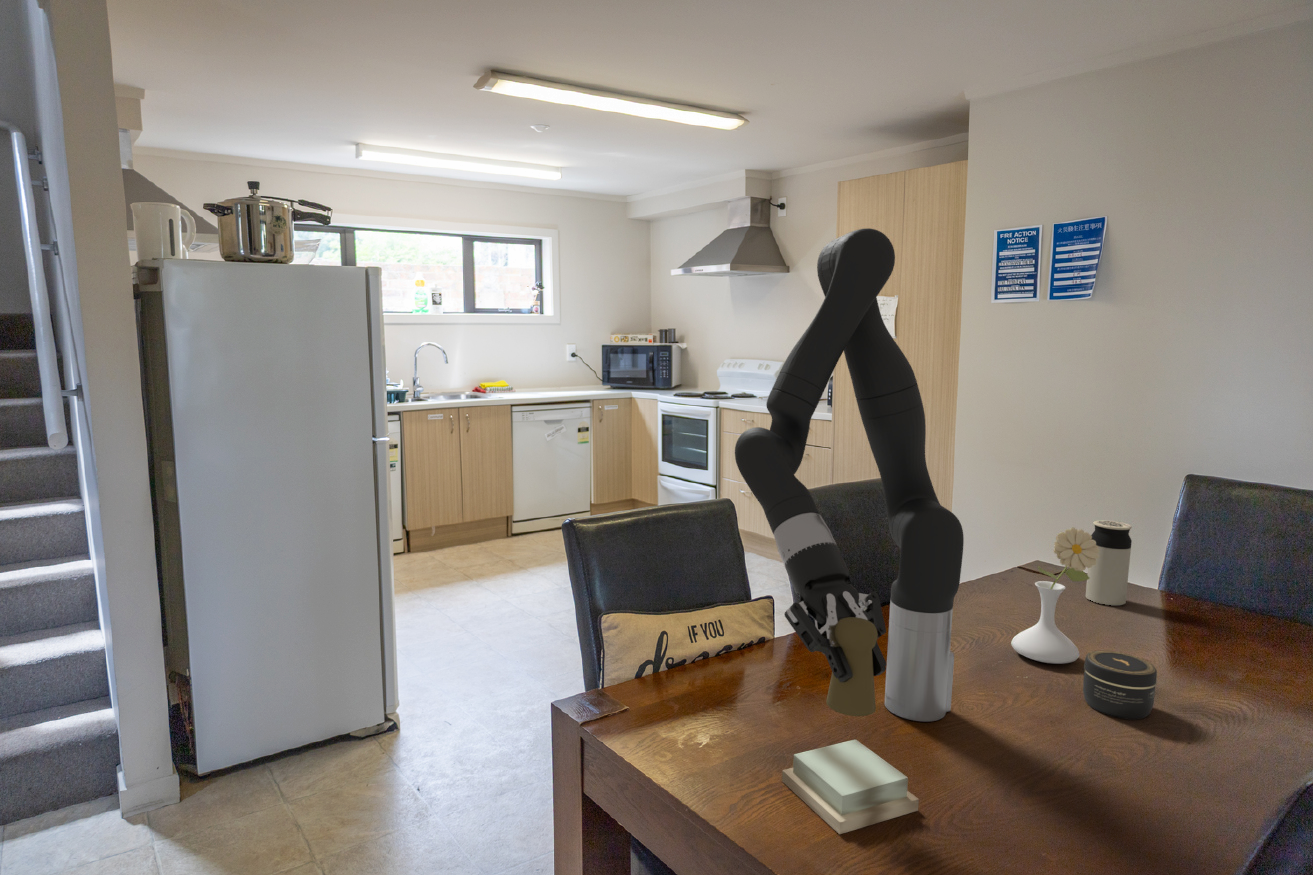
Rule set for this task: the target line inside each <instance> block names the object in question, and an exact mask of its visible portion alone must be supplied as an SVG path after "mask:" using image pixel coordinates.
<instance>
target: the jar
mask: <svg viewBox="0 0 1313 875" xmlns="http://www.w3.org/2000/svg"><path fill="white" fill-rule="evenodd" d="M1083 671H1084V672H1083V680H1082V681H1083V682H1082V683H1083V685H1082V693H1083V698H1084V700H1085V703H1087V705H1088V706H1089V707H1090V708H1092V709H1093V710H1095V711H1097V712H1099V713H1101V714H1104V715H1107V716H1109V717H1113V718H1117V719H1123V720H1141V719H1144V718H1146V717H1148V716H1149V715H1150V714H1151V711H1152V709H1153V706H1154V701H1155V696H1156V695H1155V694H1156V686H1157V683H1158V680H1157V676H1158V672H1157V667H1155V665H1154V664H1152V663H1151V662H1150V661H1148V660H1146V659H1145V658H1141V657H1139V656H1136V655H1133V654H1129V653H1126V652H1121V651H1115V650H1094V651H1091V652H1088V653H1087V654H1086V655H1085V658H1084V665H1083Z"/></svg>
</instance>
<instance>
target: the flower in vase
mask: <svg viewBox="0 0 1313 875" xmlns="http://www.w3.org/2000/svg"><path fill="white" fill-rule="evenodd" d="M1091 535H1092V534H1090V533H1089V532H1088V531H1084V529H1083V528H1080V529H1078V528H1076V527H1070V528H1067V529H1065V530H1064V532H1063V531H1061V532H1059V533H1057V536H1056V537H1055V540H1056V541H1054V544H1053V545H1054V546H1053V547H1054V548H1053V553H1054V554H1055V555H1056V558H1057V559H1058V560H1059V563H1060V564H1061V565H1062V566H1063V565H1064V566H1065V567H1064V568H1063V569H1062V571H1061V572H1060V573H1059V575H1058V576H1056V575H1055V574H1054V573H1052V572H1049V571H1048V570H1047V571H1046V570H1044V569H1043V568H1042V567H1041V566H1040V565H1038V566H1037V568H1038V571H1039V572H1040V573H1042V574H1044V575H1046V576H1049V577H1051V578H1052V579H1055V580H1054V581H1047V580H1045V581H1044V580H1042V581H1041V580H1039V581H1035V582H1034V585H1035V586H1036V588H1037V590H1038V592H1039V595H1040V596H1039V597H1040V602H1041V604H1040V606H1041V609H1040V617H1039V620H1038V622H1037V623H1036V624H1034V625H1033V626H1031V627H1029V628H1027V629H1024V630H1022V631H1020V632H1019V633H1018V634H1016V635H1015V636H1014V637H1013V638H1012V640H1011V643H1010V645H1011V647H1012V648H1013V650H1014V651H1015V652H1017V653H1018V654H1019V655H1022V656H1024V657H1026V658H1027V659H1030V660H1034V661H1037V662H1040V663H1046V664H1056V665H1057V664H1058V665H1059V664H1069V663H1073V662H1075V661H1077V659H1078V658H1079V657H1080V652H1079V649H1078V647H1077V646H1076V645H1075V644H1074V642H1073V641H1072V640H1071V639H1070V638H1068V636H1066V635H1065V634H1064V633H1063V632H1062V630H1061V629H1059V628H1058V627H1057V625H1056V622H1055V611H1056V606H1057V602H1058V599H1059V597H1060V595H1061V594H1062V592H1064V590H1066V586H1065V585H1064V584H1061V583H1057V582H1058V581H1059V580H1060V578H1062V576H1063V575H1064V574H1065V575H1066V576H1067V577H1068V578H1069V579H1070V580H1071V581H1072V582H1084V581H1087V580H1088V579H1090V578H1089V577H1088V575H1087V574H1088V573H1086V572H1085V571H1086V570H1087V569H1088V568H1091V567H1092V565H1096V564H1097V563H1096V559H1098V558H1099V555H1098V554H1097V553H1099V552H1100V550H1099V547H1098V546H1097V545H1096V541H1095V540H1091V539H1092V536H1091ZM1067 568H1068V569H1067ZM1086 568H1087V569H1086Z"/></svg>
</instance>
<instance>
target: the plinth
mask: <svg viewBox="0 0 1313 875" xmlns="http://www.w3.org/2000/svg"><path fill="white" fill-rule="evenodd" d="M792 764H793V765H792V767H790V768H784V769H782V771H781V782H782V783H783V784H784V785H785V786H786V787H787V788H789V790H790V791H792V792H793V793H794V795H796V796H797V797H798V798H800V800H802V801H803V802H804V803H805V804H806V805H807V806H808V807H809V808H810V809H811V810H812V811H814V813H815V814H816V815H817V816H819V817H820V819H822V820H823V821H824V822H825V823H826V824H828V826H830V828H831V829H833V830H834V831H835V832H836V833H838V835H842V834H845V833H848V832H852V831H855V830H859V829H863V828H865V827H868V826H872V825H876V824H879V823H881V822H885V821H888V820H892V819H894V818H898V817H901V816H904V815H908V814H911V813H915V812H918V811H919V803H920V799H919V798H918V797H916V795H914V794H913V793H911V792H910V791H909V790H908V785H909V784H908V782H909V777H907V775H905V774H904V773H903V772H901V771H900V770H898V769H897V768H896V767H894V766H893V765H891V764H890V763H889V762H887V761H886V760H884V759H883V758H882V757H880V756H879V755H878V754H877V753H875V752H874V751H872V750H871V749H869V748H868V747H867V746H866V745H864V744H862V743H861V742H860V741H859V740H857V739H855V738H854V739H851V740H848V741H843V742H839V743H835V744H831V745H827V746H823V747H819V748H815V749H810V750H807V751H803V752H799V753H794V754H793V761H792Z"/></svg>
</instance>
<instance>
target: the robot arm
mask: <svg viewBox="0 0 1313 875" xmlns="http://www.w3.org/2000/svg"><path fill="white" fill-rule="evenodd" d="M895 261H896V253H895V249H894V245H893V244H892V242H891V240H890V239H889V237H888V236H887V235H886V234H885V233H884V232H882V231H880V230H877V229H875V228H867V227H865V228H860V229H856V230H852V231H850V232H847V233H846V234H843V235H841V236H839V237H837V238H835V239H832V240H831V241H829V242H828V243H827V244H825V246H824V247H823V248H822V249H821V251H820V253H819V255H818V259H817V263H816V264H817V265H816V269H817V271H816V272H817V278H818V281H819V284H820V287H821V290H822V292H823V295H824V300H823V301H822V304H821V305H820V307H819V309H818V311H817V313H816V314H815V316H814V318H813V319H812V321H811V322H810V324H809V326H808V327H807V328H806V329H805V331H804V333H803V334H802V335H801V336H800V338H799V339H798V341H797V342H796V344H795V345H794V346H793V348H792V349H791V351H790V352H789V354H788V356H787V357H786V359H785V361H784V363H783V364H782V366H781V369H780V371H779V373H778V375H777V378H776V379H775V381H774V384H773V385H772V388H771V390H770V392H769V395H768V397H767V400H766V405H765V406H766V409H767V412H769V414H770V416H771V424H770V427H769V429H768V428H765V427H757V426H756V427H751V428H748V429H746V430H745V431H743V432H742V433H741V434H740V436H739V437H738V439H737V440H736V443H735V446H734V457H735V458H734V459H735V463H736V466H737V469H738V471H739V473H740V475H741V477H742V478H743V480H744V482H745V484H746V485H747V486H748V488H749V489H750V492H751V493H752V494H753V496H754V497H755V499H756V500H757V502H758V503H759V505H760V506H761V507H762V509H763V511H764V515H765V518H766V520H767V523H768V525H769V527H770V529H771V532H772V534H773V537H774V540H775V543H776V548H777V551H778V554H779V556H780V559H781V561H782V563H783V565H784V566H783V567H784V568H785V571H786V573H787V576H788V577H789V580H790V583H791V585H792V587H793V589H794V592H795V595H796V596H798V597H799V602H793V603H792V604H791V605H790V606H789V607H788V609H786V611H785V612H784V617H785V619H786V620H787V621H788V623H789V625H790V626H791V627H792V629H793V630H794V632H795V634H797V636H798V637H799V639H800V640H801V642H802V643H803V645H804V646H805V648H806V649H807V650H808V651H809V652H811V653H814V652H820V653H822V655H824V656H825V659H826V660H827V662H828V665H829V668H830V669H831V671H832V672H833V674H834V676H835V677H836V678H838V679H839V681H840V682H841V683H842V682H847V681H848V680H849V679H851V678H852V677H853V673H852V671H851V668H850V666H849V664H848V661H847V659H846V657H845V654H844V652H843V650H842V648H841V647H839V648H838V645H839V643H838V641H837V639H836V637H835V628H836V625H837V623H838V621H839V620H841V619H843V618H847V617H857V618H862V619H866V620H868V621H870V622H871V623H873V624H874V626H875V627H876V629H877V633H878V637H877V640H878V639H879V638H881V637H882V636H883V635H885V634H886V633H887V629H886V628H887V627H886V624H885V619H884V615H883V614H884V613H883V610H882V606H881V605H882V604H881V601H880V596H879V594H878V593H877V592H876V591H871V592H870V593H869V594H866V593H861V592H859V591H858V590H857V589H856V587H855V586H853V585H852V584H853V583H851V579H850V576H851V575H850V570H849V568H848V567H847V564H846V562H845V560H844V557H843V555H842V553H841V552H840V549H839V547H838V544H837V542H836V540H835V539H834V537H833V535H832V531H831V530H830V528H829V527H828V525H827V524H826V522H825V520H824V519H823V517H822V515H821V513H820V510H819V509H818V506H817V504H816V502H815V500H814V498H813V496H812V493H811V492H810V491H809V489H808V488H807V487H806V485H805V484H803V482H801V481H800V480H799V479H798V478H797V477H796V475H795V474H796V473H797V472H798V470H799V468H800V466H801V464H802V462H803V459H804V455H805V451H806V446H807V441H808V437H809V433H810V432H809V431H810V427H811V426H810V425H811V420H812V417H813V415H814V414H815V411H816V409H817V407H818V405H819V403H820V401H821V398H822V397H823V394H824V392H825V389H826V387H827V385H828V383H829V381H830V379H831V376H832V375H833V373H834V371H835V368H836V366H837V364H838V362H839V360H840V358H841V356H842V355H843V353H844V358H845V362H846V365H847V368H848V373H849V375H850V379H851V384H852V387H853V393H854V396H855V401H856V405H857V408H858V412H859V415H860V419H861V421H862V422H861V423H862V425H863V428H864V431H865V434H866V436H867V441H868V444H869V447H870V450H871V453H872V455H873V459H874V461H875V464H876V466H877V469H878V472H879V476H880V480H881V484H882V489H883V496H884V501H885V506H886V507H885V508H886V514H887V521H888V528H889V532H890V536H891V538H892V540H893V542H894V543H895V544H896V546H897V547H898V548H899V549H900V550H899V551H900V552H899V564H898V565H899V566H898V575H897V579H895V580H893V582H892V583H891V587H890V601H889V602H890V603H889V619H888V636H887V654H886V655H887V656H886V659H885V657H884V655H883V652H882V650H881V648H880V646H879V643H878V641H877V642H876V644H875V646H874V647H873V648H872V658H873V673H874V677H877V676H880V675H882V674H883V673H884V672H885V671H886V672H885V687H884V688H885V691H884V706H885V708H886V709H887V710H888V711H889V712H890V713H892V714H894V715H895V716H897V717H900V718H902V719H906V720H911V721H915V722H934V721H939V720H941V719H943V718H944V717H945V716H946V713H947V712H950V711H951V707H952V695H953V694H952V692H953V679H954V668H955V666H954V664H955V653H954V652H953V651H951V640H952V626H953V623H952V622H953V613H954V612H953V610H954V609H953V608H954V599H955V596H956V595H957V593H958V591H959V588H960V581H961V573H962V564H963V563H962V562H963V555H964V544H965V543H964V542H965V541H964V531H963V530H964V529H963V526H962V524H961V522H960V520H959V518H958V517H957V516H956V515H955V514H954V513H953V512H952V511H950V510H949V509H947V508H946V507H944V506H943V505H941V503H940V501H939V498H938V497H937V494H936V492H935V489H934V486H933V482H932V480H931V476H930V473H929V470H928V466H927V461H926V435H927V434H926V432H927V431H926V415H925V410H924V404H923V400H922V396H921V393H920V388H919V385H918V381H917V378H916V377H917V376H916V375H915V373H914V370H913V367H912V366H911V364H910V362H909V359H908V358H907V357H906V356H905V354H904V352H903V351H902V349H901V347H900V346H899V344H897V342H896V341H895V339H894V338H893V336H892V334H890V332H889V329H888V328H887V326H886V325H885V322H884V319H883V317H882V314H881V310H880V307H879V302H878V298H877V297H878V296H879V294H880V293H881V291H882V290H883V289H884V287H885V285H886V283H887V282H888V281H889V279H890V278H891V275H892V274H893V272H894V268H895V263H896V262H895ZM859 606H860V607H859ZM809 616H810V617H811V618H812V619H813V620H814V622H813V620H812V619H811V618H810V617H809ZM832 672H831V673H832Z"/></svg>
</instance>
